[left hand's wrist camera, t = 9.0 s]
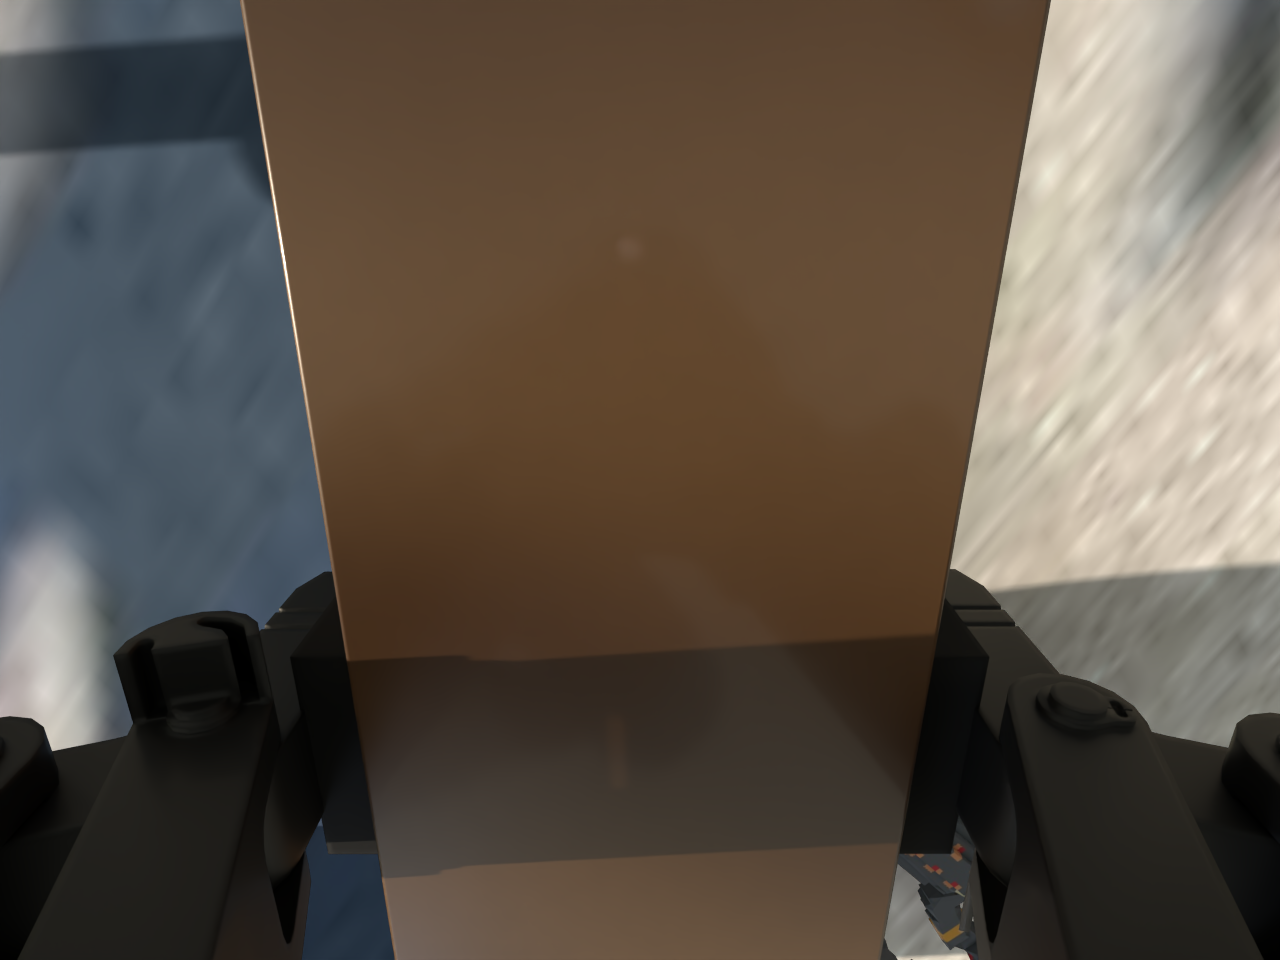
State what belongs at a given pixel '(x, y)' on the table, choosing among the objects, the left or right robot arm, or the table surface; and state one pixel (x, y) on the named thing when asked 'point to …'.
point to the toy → (944, 890)
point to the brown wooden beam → (641, 439)
